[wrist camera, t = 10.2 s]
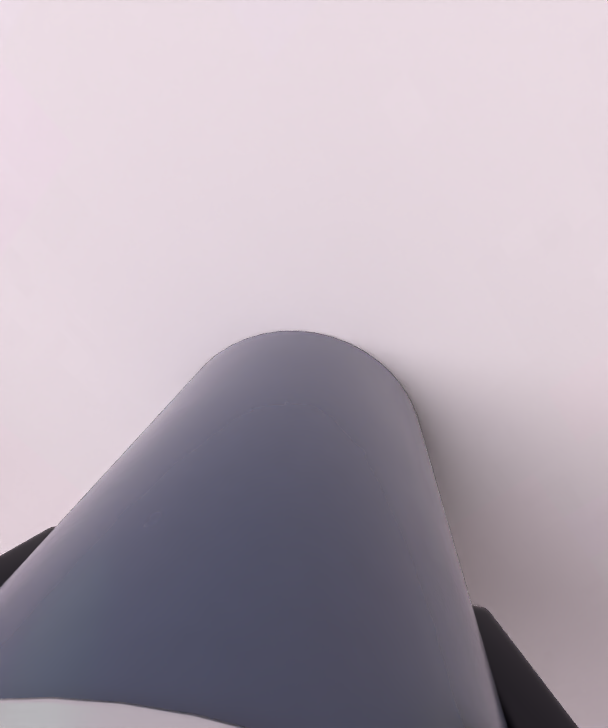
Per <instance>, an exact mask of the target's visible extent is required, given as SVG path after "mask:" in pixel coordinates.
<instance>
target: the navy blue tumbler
mask: <svg viewBox="0 0 608 728" xmlns="http://www.w3.org/2000/svg"><path fill="white" fill-rule="evenodd" d="M0 728H508V727H507V724H506V720H505V717H504V714H503V710H502V707H501V703H500V700H499V696H498V693H497V689H496V686H495V683H494V679H493V676H492V672H491V669H490V665H489V662H488V659H487V655H486V652H485V648H484V645H483V641H482V638H481V634H480V631H479V628H478V624H477V621H476V617H475V614H474V610H473V607H472V603H471V600H470V597H469V593H468V590H467V586H466V583H465V579H464V576H463V572H462V569H461V566H460V562H459V559H458V555H457V552H456V548H455V545H454V541H453V538H452V535H451V531H450V528H449V524H448V521H447V517H446V514H445V510H444V507H443V504H442V500H441V497H440V493H439V490H438V486H437V483H436V479H435V476H434V473H433V469H432V466H431V462H430V459H429V455H428V452H427V449H426V445H425V442H424V438H423V435H422V431H421V428H420V424H419V421H418V418H417V414H416V412H415V410H414V407H413V405H412V403H411V400H410V399H409V397H408V395H407V394H406V392H405V390H404V389H403V387H402V386H401V384H400V383H399V382H398V381H397V380H396V378H395V377H394V376H393V375H392V374H391V373H390V372H389V371H388V370H387V369H386V368H385V367H384V366H383V365H382V364H381V363H380V362H379V361H377V360H376V359H374V358H373V357H372V356H370V355H369V354H367V353H366V352H364V351H363V350H361V349H359V348H357V347H355V346H353V345H351V344H349V343H347V342H344V341H342V340H339V339H336V338H334V337H330V336H326V335H322V334H318V333H312V332H302V331H279V332H272V333H265V334H261V335H257V336H254V337H250V338H247V339H244V340H242V341H240V342H238V343H235V344H233V345H231V346H229V347H228V348H226V349H225V350H223V351H221V352H220V353H218V354H217V355H216V356H214V357H213V358H212V359H211V360H210V361H208V362H207V363H206V364H205V365H204V366H203V367H202V368H201V369H200V371H199V372H198V373H197V374H196V375H195V376H194V377H193V378H192V379H191V380H190V381H189V383H188V384H187V385H186V386H185V387H184V388H183V389H182V390H181V391H180V392H179V393H178V395H177V396H176V397H175V398H174V399H173V400H172V401H171V402H170V403H169V404H168V405H167V406H166V408H165V409H164V410H163V411H162V412H161V413H160V414H159V415H158V416H157V417H156V418H155V420H154V421H153V422H152V423H151V424H150V425H149V426H148V427H147V428H146V429H145V430H144V432H143V433H142V434H141V435H140V436H139V437H138V438H137V439H136V440H135V441H134V442H133V444H132V445H131V446H130V447H129V448H128V449H127V450H126V451H125V452H124V453H123V454H122V456H121V457H120V458H119V459H118V460H117V461H116V462H115V463H114V464H113V465H112V466H111V467H110V469H109V470H108V471H107V472H106V473H105V474H104V475H103V476H102V477H101V478H100V479H99V481H98V482H97V483H96V484H95V485H94V486H93V487H92V488H91V489H90V490H89V491H88V493H87V494H86V495H85V496H84V497H83V498H82V499H81V500H80V501H79V502H78V503H77V505H76V506H75V507H74V508H73V509H72V510H71V511H70V512H69V513H68V514H67V515H66V516H65V518H64V519H63V520H62V521H61V522H60V523H59V524H58V525H57V526H56V527H55V528H54V530H53V531H52V532H51V533H50V534H49V535H48V536H47V537H46V538H45V539H44V540H43V542H42V543H41V544H40V545H39V546H38V547H37V548H36V549H35V550H34V551H33V552H32V554H31V555H30V556H29V557H28V558H27V559H26V560H25V561H24V562H23V563H22V564H21V565H20V567H19V568H18V569H17V570H16V571H15V572H14V573H13V574H12V575H11V576H10V577H9V579H8V580H7V581H6V582H5V583H4V584H3V585H2V586H1V587H0Z"/></svg>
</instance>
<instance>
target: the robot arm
mask: <svg viewBox="0 0 608 728" xmlns="http://www.w3.org/2000/svg"><path fill="white" fill-rule="evenodd" d="M54 528H55V527H51V528H49V529H47V530H45V531H43V532H42V533H40V534H38V535H36V536H34V537H33V538H31V539H29V540H27V541H26V542H24V543H22V544H20V545H19V546H17V547H15V548H13V549H11V550H10V551H8V552H6V553H4V554H3V555H1V556H0V587H1V586H2V585H3V584H4V583H5V582H6V581H7V580H8V579H9V577H10V576H11V575H12V574H13V573H14V572H15V571H16V570H17V569H18V568H19V567H20V565H21V564H22V563H23V562H24V561H25V560H26V559H27V558H28V557H29V556H30V555H31V554H32V552H33V551H34V550H35V549H36V548H37V547H38V546H39V545H40V544H41V543H42V542H43V540H44V539H45V538H46V537H47V536H48V535H49V534H50V533H51V532H52V531H53V530H54ZM472 607H473V610H474V614H475V617H476V621H477V624H478V628H479V631H480V634H481V638H482V641H483V645H484V648H485V652H486V655H487V659H488V662H489V665H490V669H491V672H492V676H493V679H494V683H495V686H496V689H497V693H498V696H499V700H500V703H501V707H502V710H503V714H504V717H505V720H506V724H507V727H508V728H578V727H577V725H576V724H575V723H574V721H573V720H572V719H571V718H570V716H569V715H568V714H567V712H566V711H565V710H564V708H563V707H562V706H561V704H560V703H559V702H558V701H557V699H556V698H555V697H554V695H553V694H552V693H551V691H550V690H549V689H548V687H547V686H546V685H545V684H544V682H543V681H542V680H541V678H540V677H539V676H538V674H537V673H536V672H535V670H534V669H533V668H532V667H531V665H530V664H529V663H528V661H527V660H526V659H525V657H524V656H523V655H522V654H521V652H520V651H519V650H518V648H517V647H516V646H515V644H514V643H513V642H512V640H511V639H510V638H509V637H508V635H507V634H506V633H505V631H504V630H503V629H502V627H501V626H500V625H499V623H498V622H497V621H496V620H495V618H494V617H493V616H492V614H491V613H490V612H489V611H488V610H487V609H485V608H483V607H479V606H474V605H472Z"/></svg>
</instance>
